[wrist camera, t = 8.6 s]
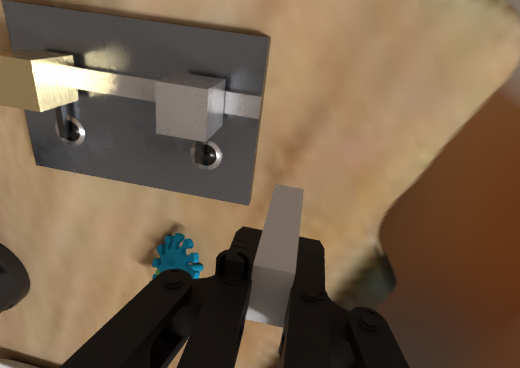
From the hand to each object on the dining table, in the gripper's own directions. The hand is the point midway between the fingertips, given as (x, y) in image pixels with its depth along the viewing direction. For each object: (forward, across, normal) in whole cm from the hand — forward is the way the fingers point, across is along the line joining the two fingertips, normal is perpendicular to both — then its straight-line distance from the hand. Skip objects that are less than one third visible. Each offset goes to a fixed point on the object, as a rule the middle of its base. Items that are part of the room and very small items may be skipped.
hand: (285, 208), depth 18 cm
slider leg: (+20, +11, +2) cm, 23 cm away
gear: (+23, +14, +24) cm, 36 cm away
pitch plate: (+22, +20, +3) cm, 30 cm away
